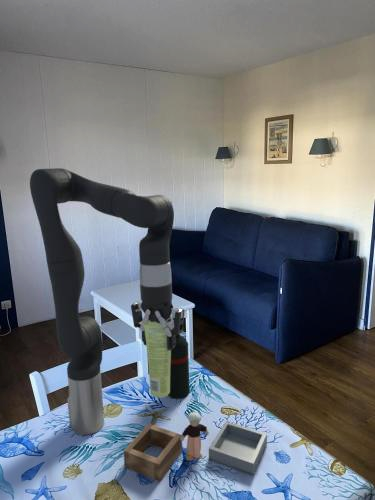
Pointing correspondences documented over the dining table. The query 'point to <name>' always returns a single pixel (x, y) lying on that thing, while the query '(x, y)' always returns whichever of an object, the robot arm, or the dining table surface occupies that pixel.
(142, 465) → the wooden frame
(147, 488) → the dining table surface
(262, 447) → the tray
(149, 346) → the tube
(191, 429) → the grandmother figurine
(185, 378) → the wine bottle
